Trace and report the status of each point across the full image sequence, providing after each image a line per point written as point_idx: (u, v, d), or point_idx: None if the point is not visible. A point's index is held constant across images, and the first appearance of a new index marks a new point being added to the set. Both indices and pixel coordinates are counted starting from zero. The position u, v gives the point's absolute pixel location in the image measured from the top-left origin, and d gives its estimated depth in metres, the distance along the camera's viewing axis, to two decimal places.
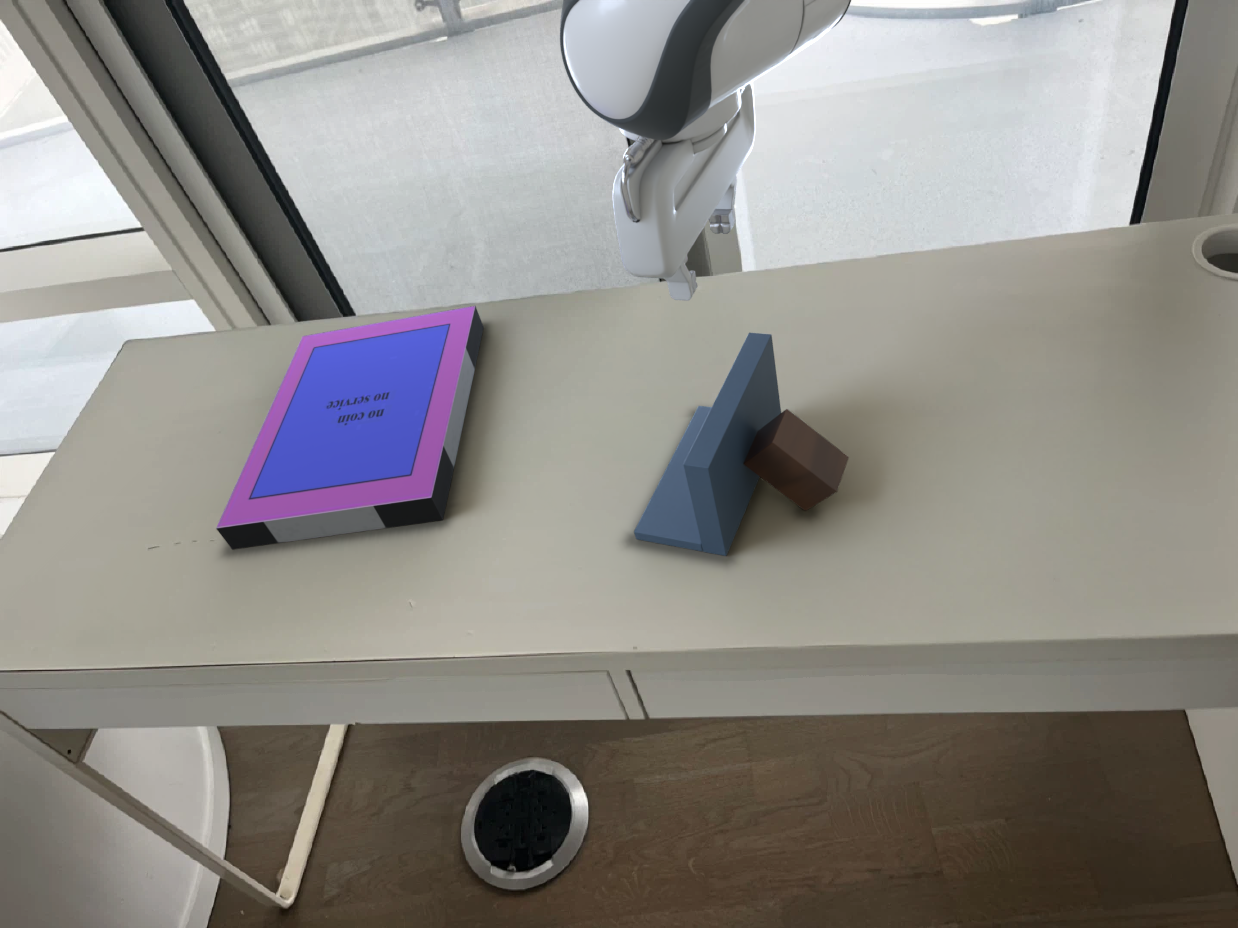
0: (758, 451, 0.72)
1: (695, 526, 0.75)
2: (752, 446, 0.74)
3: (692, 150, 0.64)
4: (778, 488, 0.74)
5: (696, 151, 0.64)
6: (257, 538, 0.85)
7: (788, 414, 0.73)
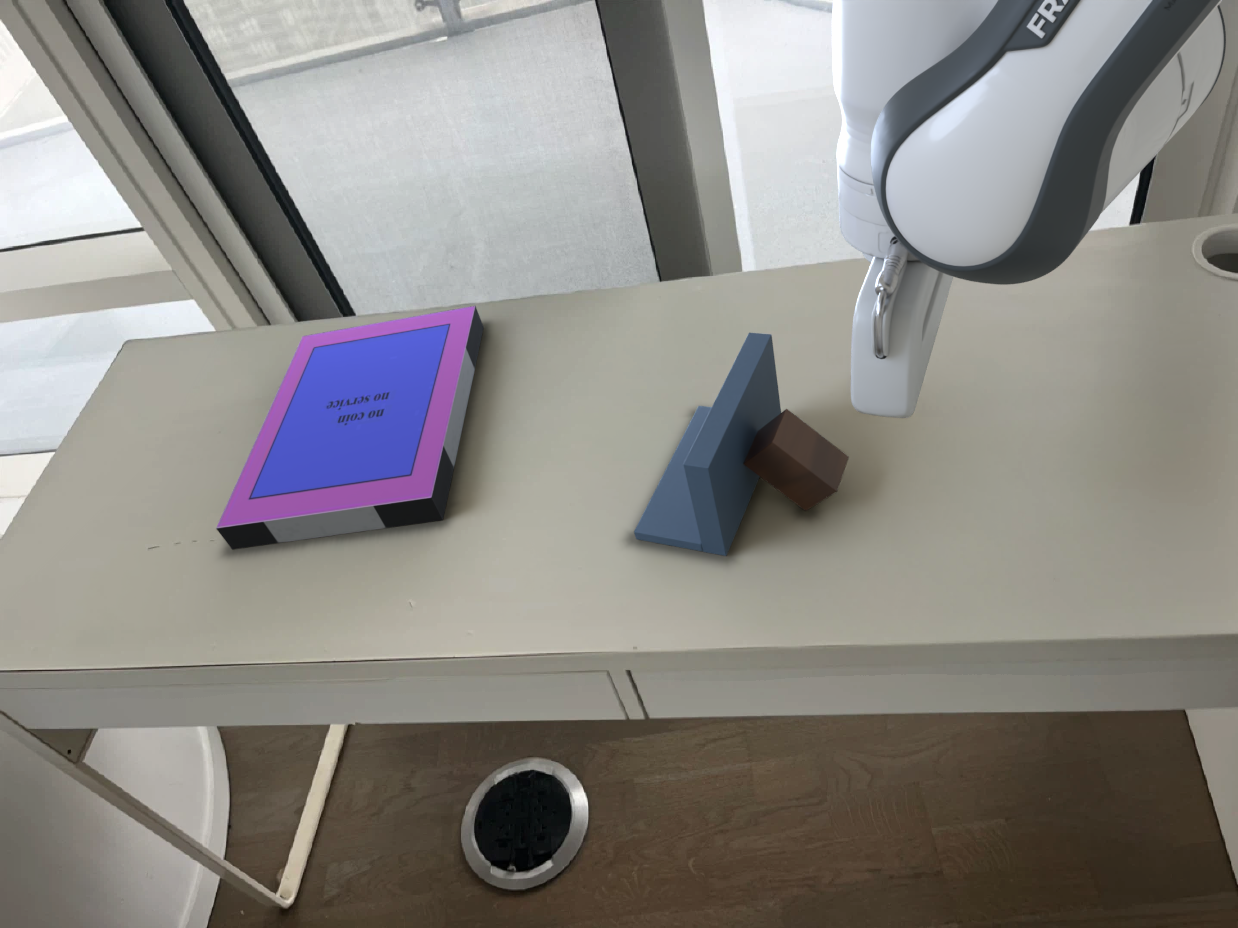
0: (758, 451, 0.72)
1: (695, 526, 0.75)
2: (752, 446, 0.74)
3: None
4: (778, 488, 0.74)
5: None
6: (257, 538, 0.85)
7: (788, 414, 0.73)
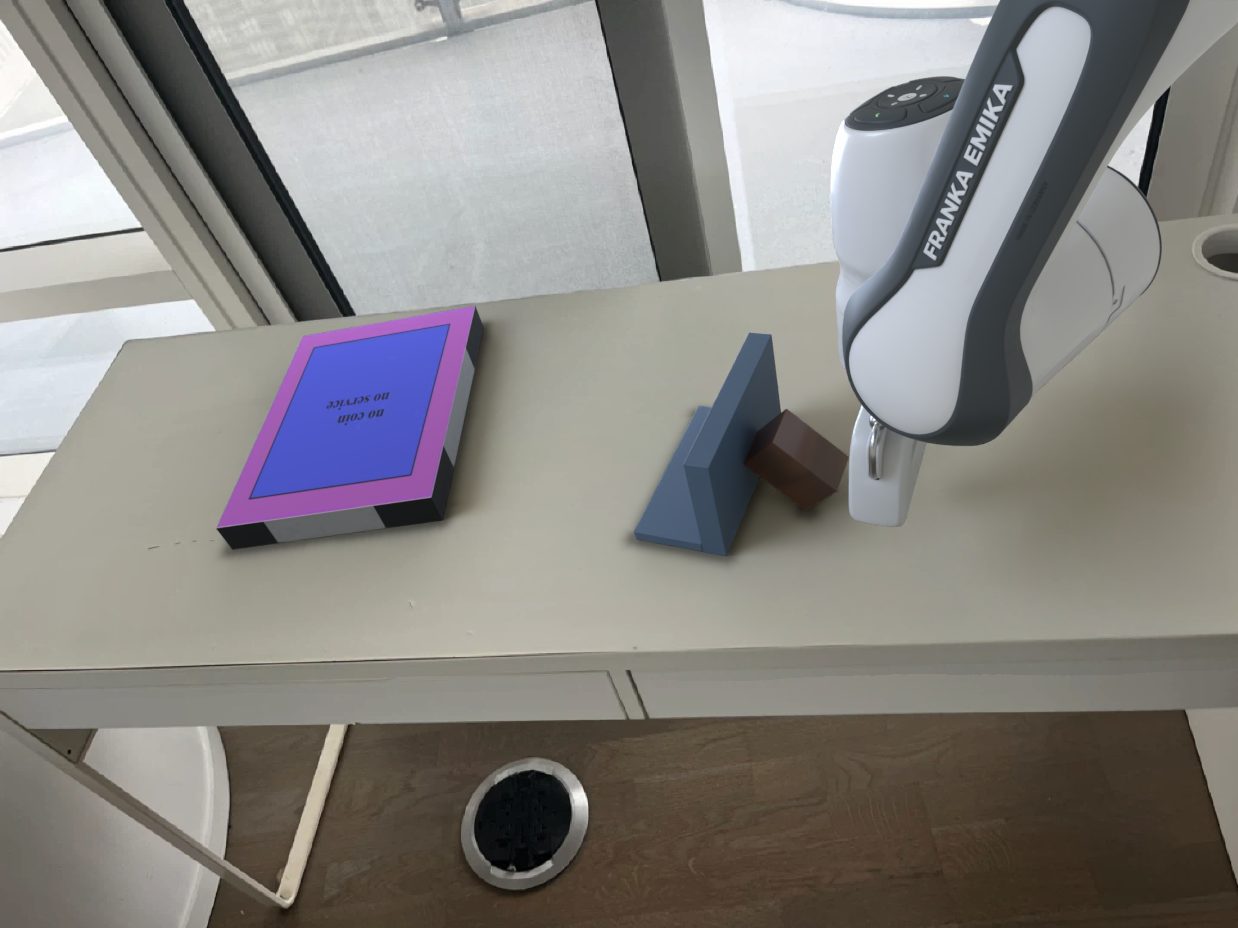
0: (758, 451, 0.72)
1: (695, 526, 0.75)
2: (752, 446, 0.74)
3: None
4: (778, 488, 0.74)
5: None
6: (257, 538, 0.85)
7: (788, 414, 0.73)
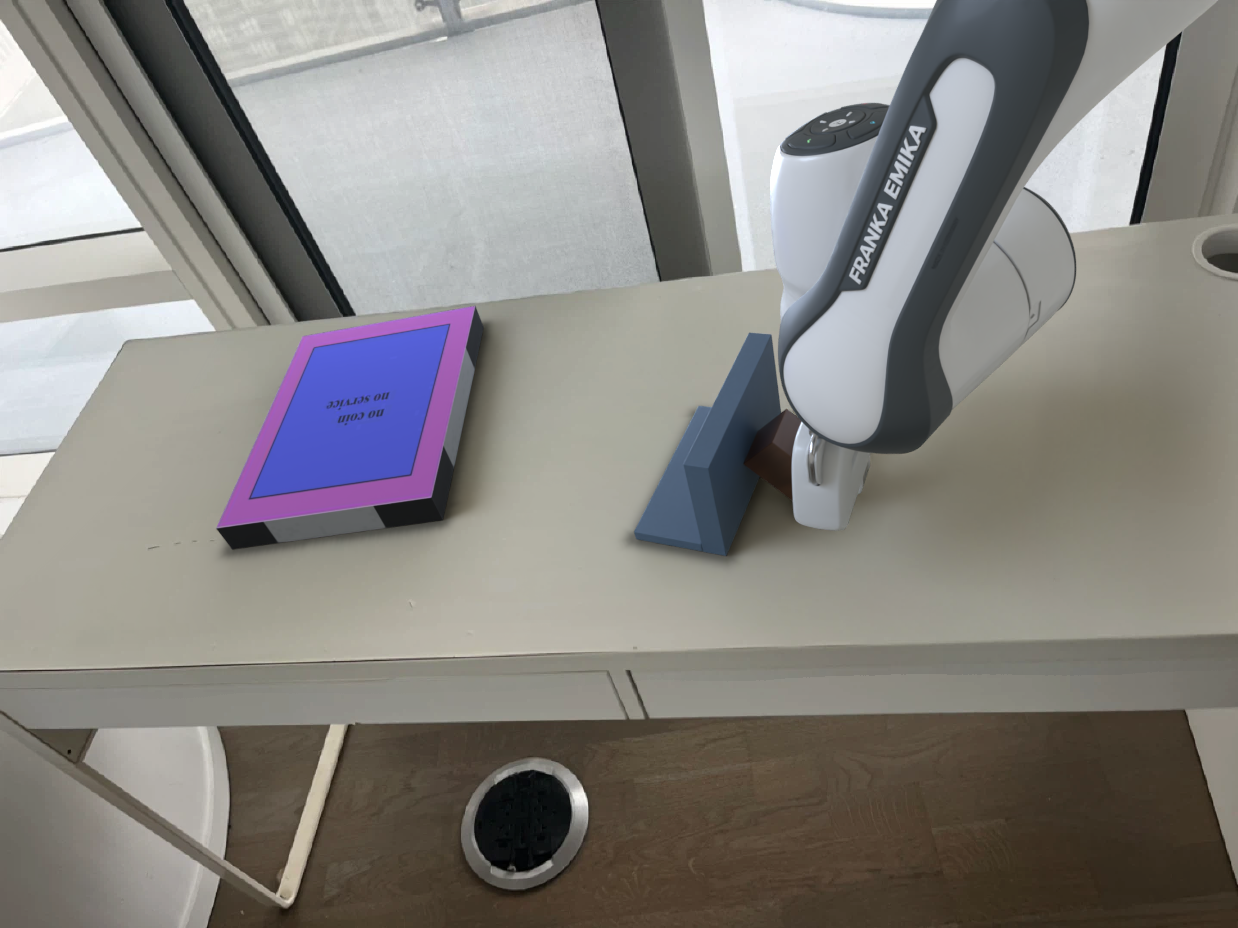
0: (758, 451, 0.72)
1: (695, 526, 0.75)
2: (752, 446, 0.74)
3: None
4: (778, 488, 0.74)
5: None
6: (257, 538, 0.85)
7: (788, 414, 0.73)
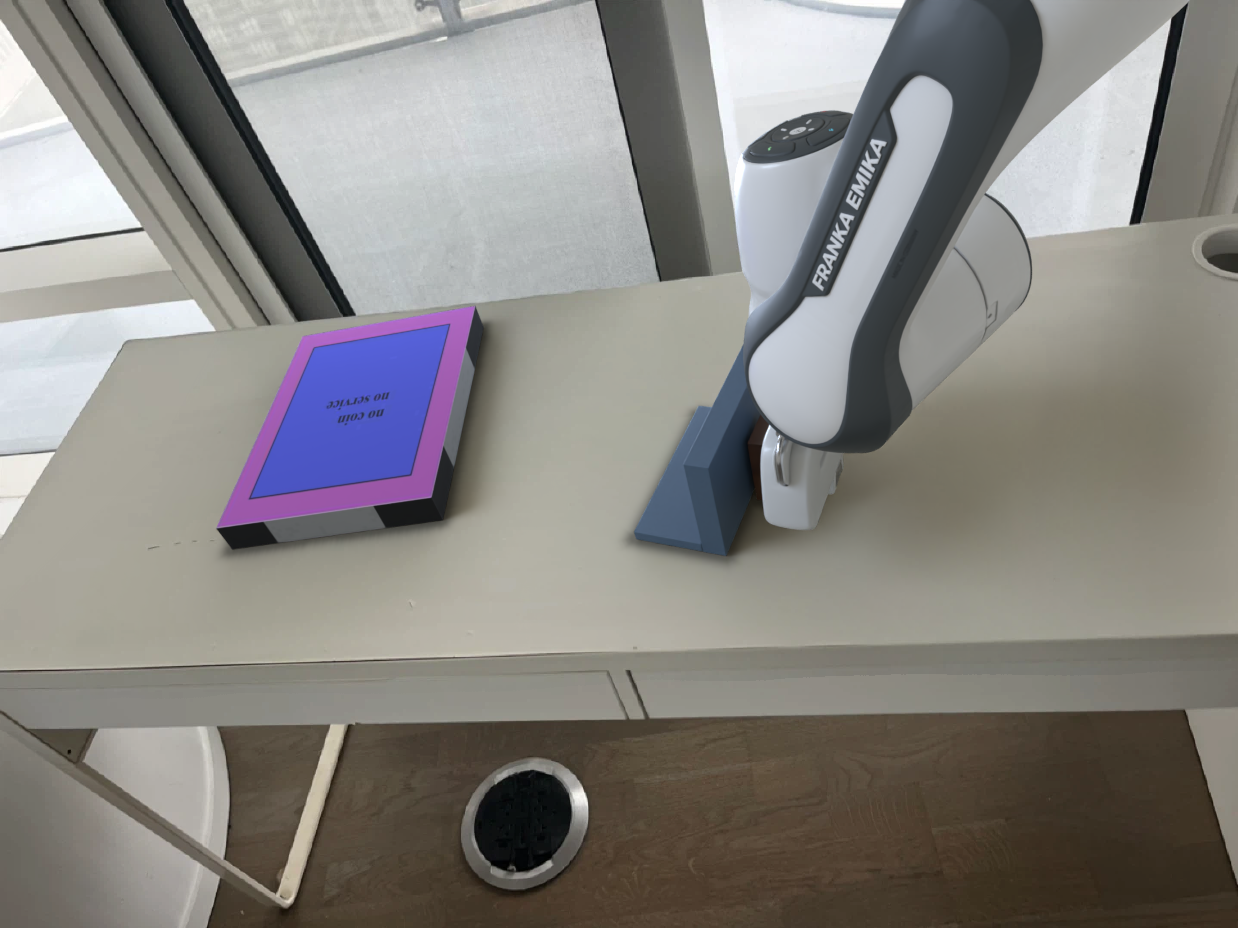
0: None
1: (695, 526, 0.75)
2: (758, 428, 0.73)
3: None
4: (755, 475, 0.74)
5: None
6: (257, 538, 0.85)
7: None
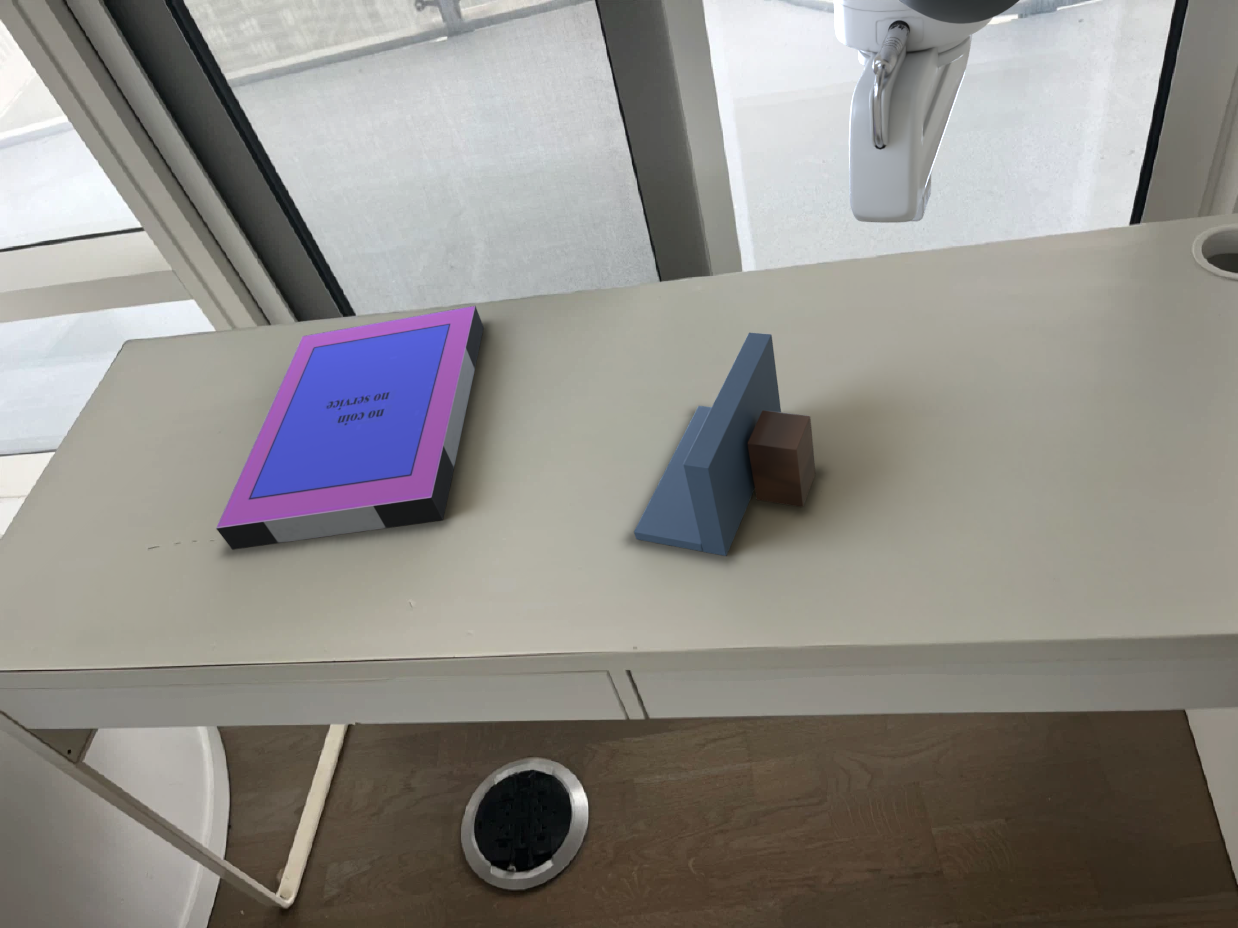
0: (772, 444, 0.71)
1: (695, 526, 0.75)
2: (758, 428, 0.73)
3: (937, 63, 0.51)
4: (755, 475, 0.74)
5: (940, 64, 0.52)
6: (257, 538, 0.85)
7: (809, 422, 0.73)
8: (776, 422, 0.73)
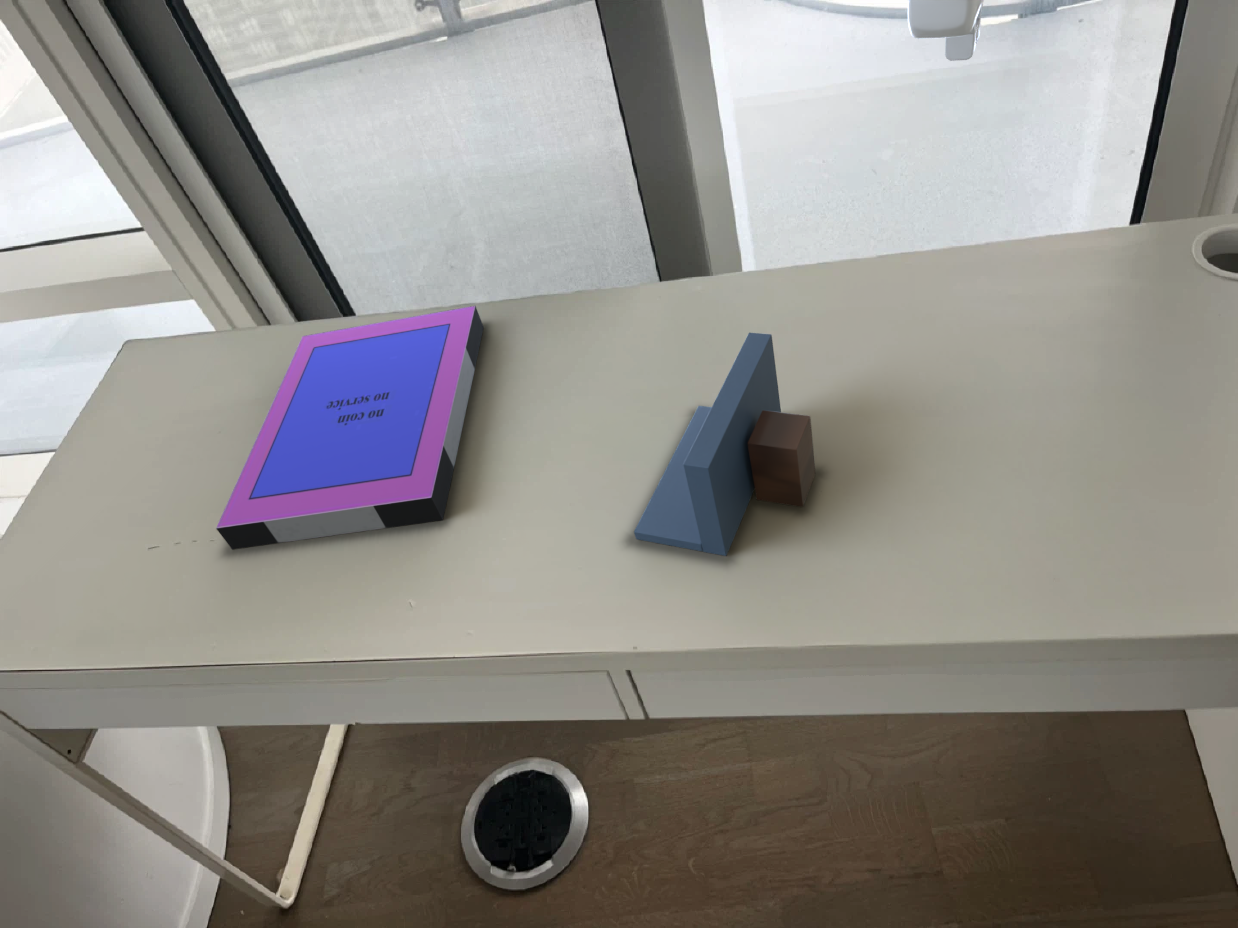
0: (772, 444, 0.71)
1: (695, 526, 0.75)
2: (758, 428, 0.73)
3: None
4: (755, 475, 0.74)
5: None
6: (257, 538, 0.85)
7: (809, 422, 0.73)
8: (776, 422, 0.73)
